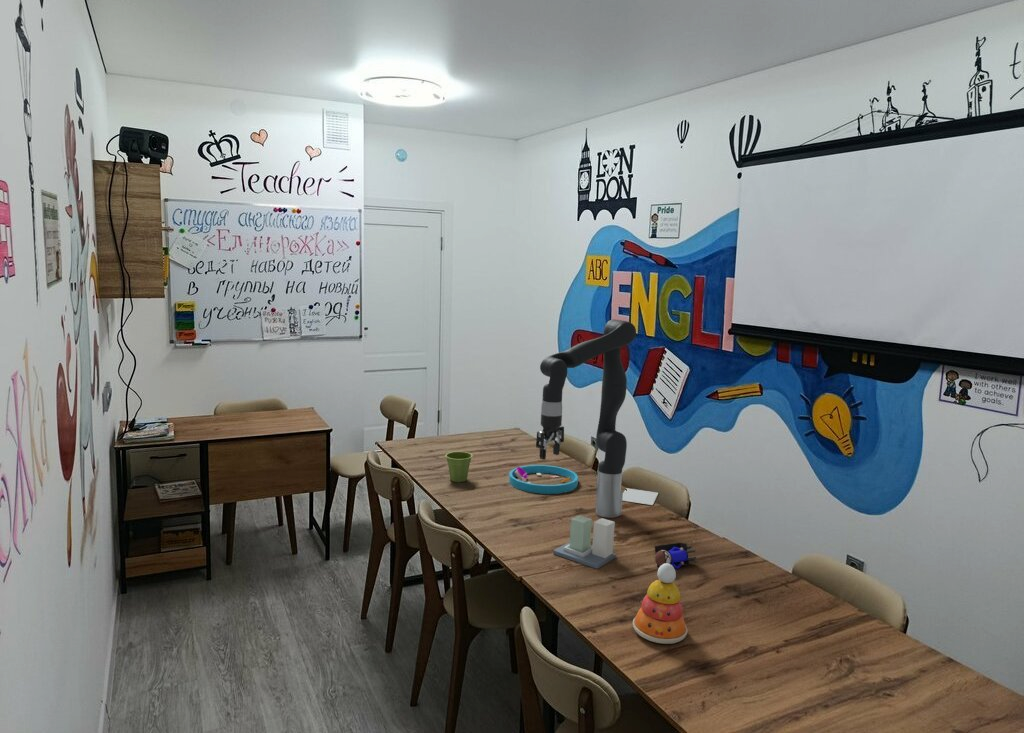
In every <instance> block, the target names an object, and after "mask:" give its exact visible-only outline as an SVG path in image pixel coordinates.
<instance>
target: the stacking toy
mask: <svg viewBox="0 0 1024 733" xmlns="http://www.w3.org/2000/svg"><path fill="white" fill-rule="evenodd" d="M656 574H657V578H658V579H655V580H654V581H653V582H651V583H650V585H649V587H648V588H647V591H646V594H645V596H644V597H643V599H642V600H641V605H640V608H639V609H638V611H637V613H636V616H635V617H634V618H633V620H632V627H633V629H634V631H635V632H636V633H637V634H638V635H639V636H640V637H641V638H643V639H645V640H647V641H650V642H653V643H656V644H663V645H664V644H665V645H667V644H668V645H669V644H676V643H678V642H679V643H680V642H681V641H682V640H684V639H685V638H686V637H687V635H688V628H687V625H686V622H685V618H684V616H683V613H684V610H683V605H682V601H681V593H680V590H679V587H678V586H677V585H676V583H674V581H675V580H676V577H677V573H676V568H675V567H673V566H672V565H670V564H668V563H665V564H663V565H661V566H660V567H658V570H657V573H656Z"/></svg>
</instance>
